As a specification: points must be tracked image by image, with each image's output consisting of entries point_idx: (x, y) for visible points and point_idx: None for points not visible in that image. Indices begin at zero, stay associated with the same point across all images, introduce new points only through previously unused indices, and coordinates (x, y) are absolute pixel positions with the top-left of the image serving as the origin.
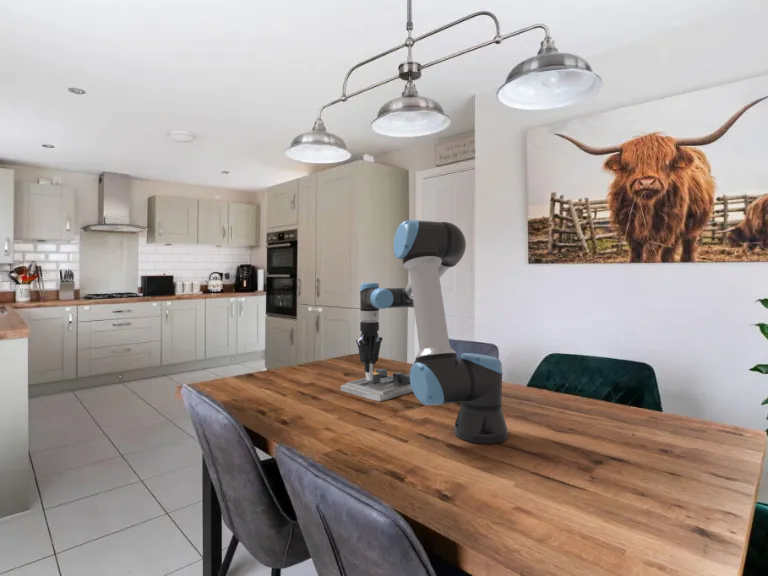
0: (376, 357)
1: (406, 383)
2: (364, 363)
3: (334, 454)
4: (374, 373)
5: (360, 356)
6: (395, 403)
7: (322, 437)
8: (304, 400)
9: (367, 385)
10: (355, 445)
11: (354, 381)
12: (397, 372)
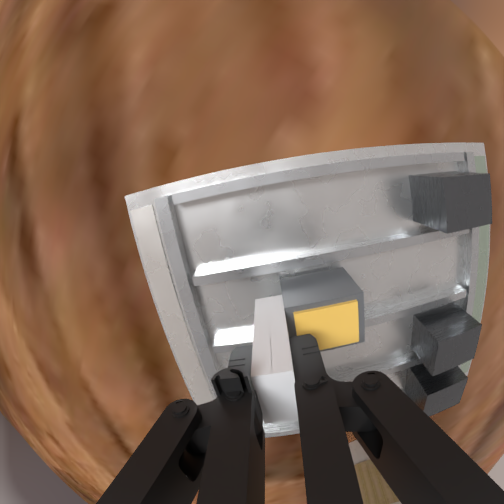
0: (366, 448)
1: (409, 393)
2: (213, 404)
3: (64, 475)
4: (331, 328)
5: (139, 459)
6: None
7: (48, 447)
8: (3, 253)
9: (267, 286)
10: (88, 482)
11: (222, 193)
12: (466, 333)
